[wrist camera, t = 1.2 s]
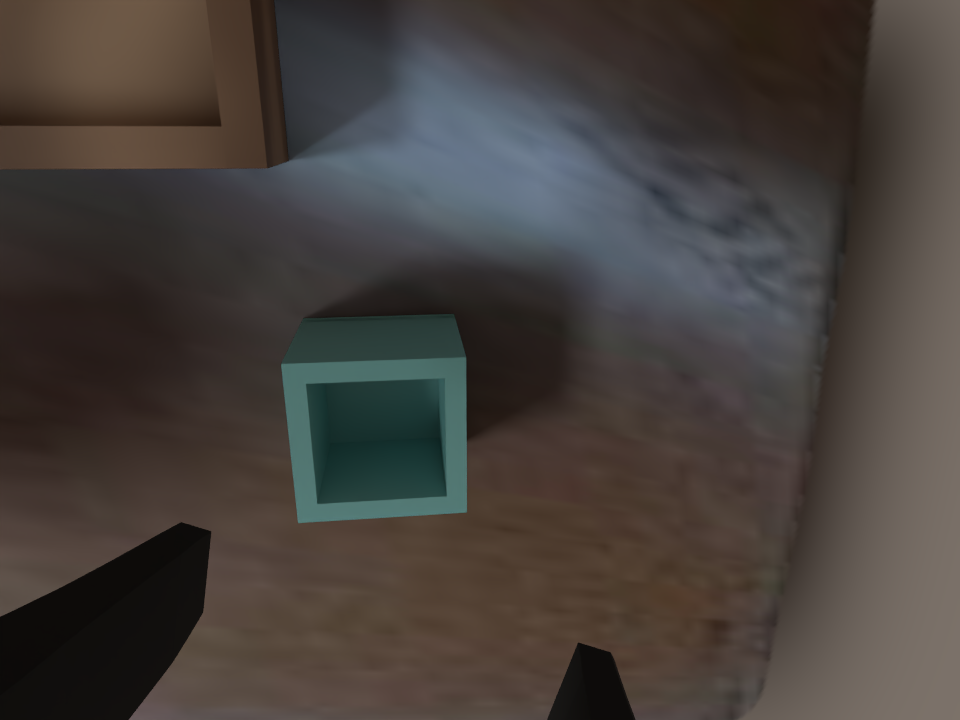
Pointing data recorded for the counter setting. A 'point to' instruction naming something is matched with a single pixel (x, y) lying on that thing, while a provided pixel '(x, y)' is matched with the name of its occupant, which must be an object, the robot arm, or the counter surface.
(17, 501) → the counter surface
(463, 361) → the small crate
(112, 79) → the big crate
